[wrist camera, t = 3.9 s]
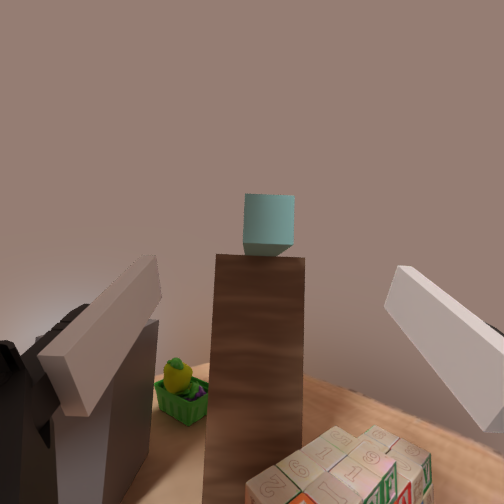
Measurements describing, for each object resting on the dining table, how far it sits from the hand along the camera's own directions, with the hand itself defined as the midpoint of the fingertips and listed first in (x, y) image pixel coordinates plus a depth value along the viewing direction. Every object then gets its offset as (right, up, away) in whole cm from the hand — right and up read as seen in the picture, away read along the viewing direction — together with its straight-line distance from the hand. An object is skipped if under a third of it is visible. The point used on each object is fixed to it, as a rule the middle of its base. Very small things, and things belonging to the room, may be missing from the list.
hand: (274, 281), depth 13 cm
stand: (-2, -29, +17) cm, 34 cm away
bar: (0, +1, +16) cm, 16 cm away
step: (-22, -28, +17) cm, 39 cm away
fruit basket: (-15, -31, +33) cm, 48 cm away
